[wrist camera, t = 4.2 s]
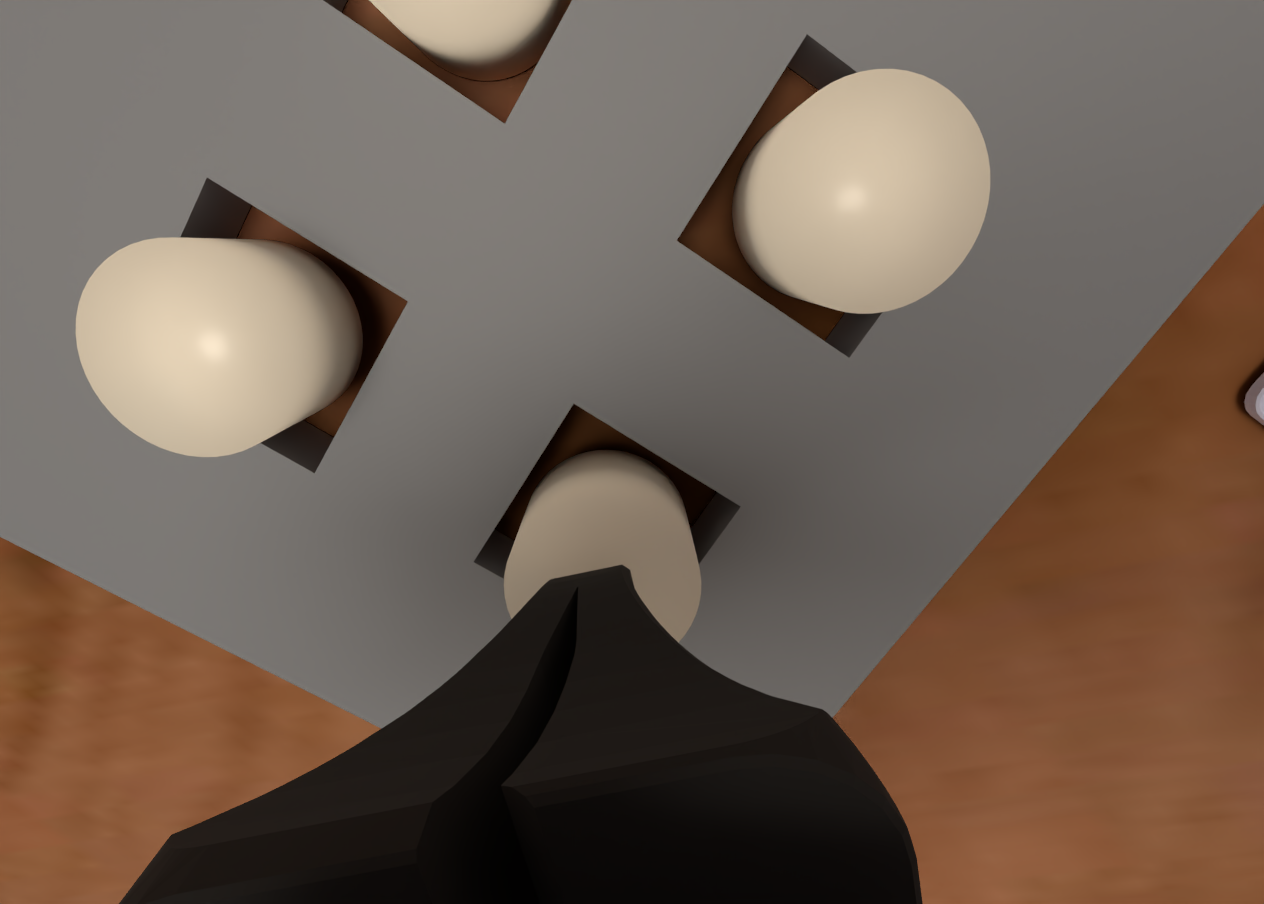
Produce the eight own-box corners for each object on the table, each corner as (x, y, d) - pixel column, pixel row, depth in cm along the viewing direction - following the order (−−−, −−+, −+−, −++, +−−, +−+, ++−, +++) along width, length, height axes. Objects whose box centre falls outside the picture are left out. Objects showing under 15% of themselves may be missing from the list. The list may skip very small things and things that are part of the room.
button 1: (953, 178, 14) (1038, 160, 11) (840, 334, 14) (893, 355, 12) (804, 65, 13) (854, 16, 10) (696, 235, 14) (714, 233, 11)
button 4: (393, 304, 14) (337, 318, 11) (316, 449, 15) (245, 495, 12) (227, 202, 14) (124, 190, 11) (155, 358, 14) (43, 384, 12)
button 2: (719, 504, 15) (740, 560, 13) (630, 626, 16) (632, 705, 13) (579, 418, 15) (569, 457, 12) (495, 550, 16) (467, 616, 13)
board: (1267, 106, 15) (1363, 85, 13) (685, 823, 20) (692, 884, 18) (313, -712, 11) (249, -910, 9) (-100, 415, 16) (-196, 437, 14)
